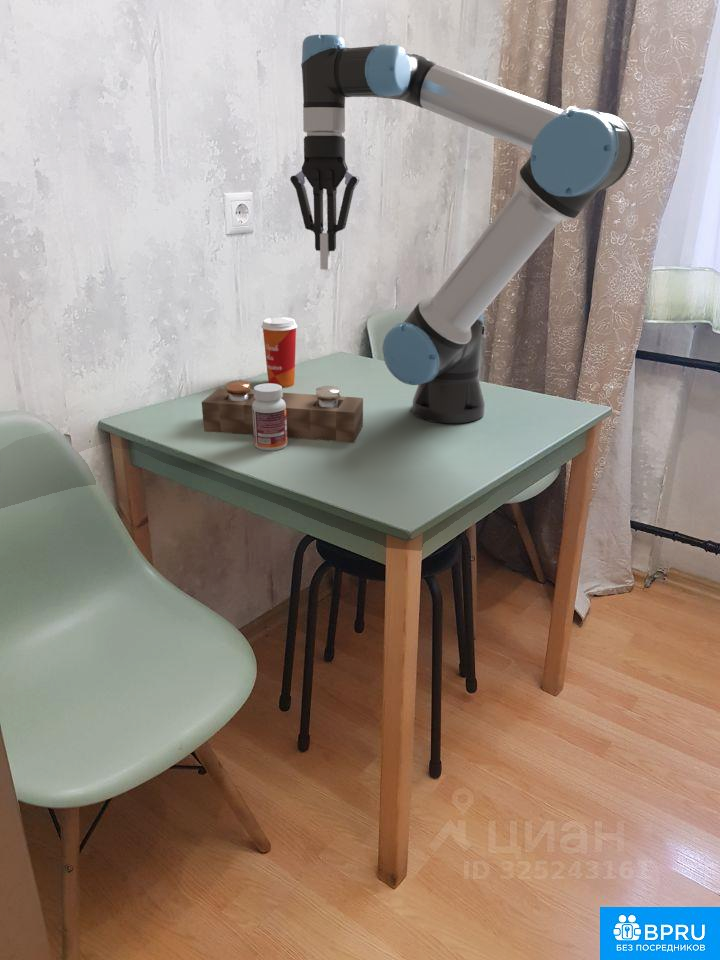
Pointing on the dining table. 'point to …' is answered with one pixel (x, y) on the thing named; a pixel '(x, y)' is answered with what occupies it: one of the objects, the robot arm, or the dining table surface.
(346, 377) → the dining table surface
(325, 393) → the knob
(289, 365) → the coffee cup
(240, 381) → the knob
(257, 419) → the pill bottle
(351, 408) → the brown wooden long block
